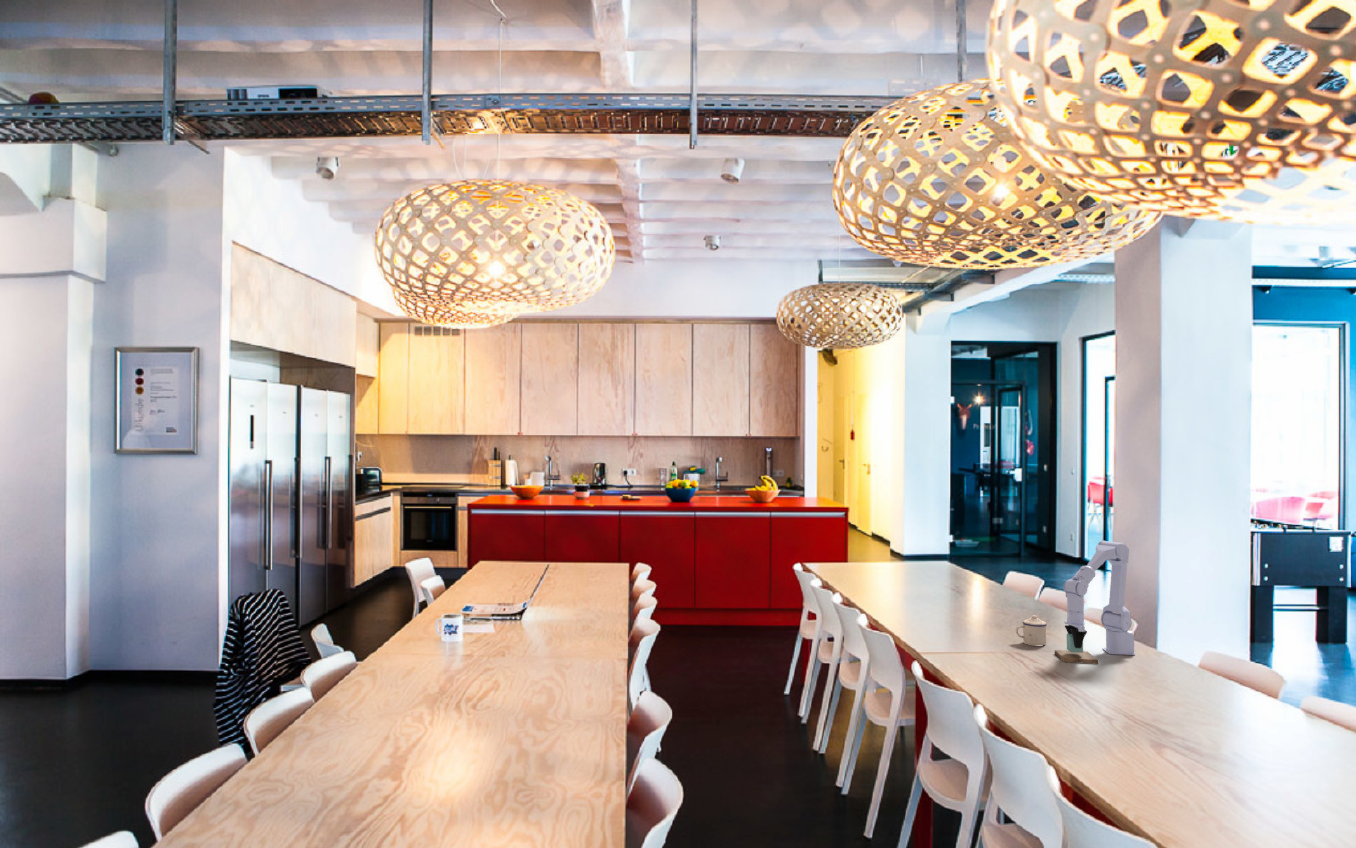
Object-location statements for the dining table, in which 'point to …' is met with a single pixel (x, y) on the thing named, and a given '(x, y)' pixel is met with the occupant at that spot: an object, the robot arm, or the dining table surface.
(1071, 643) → the teal block
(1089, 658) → the walnut slab
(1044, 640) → the teacup with lid
